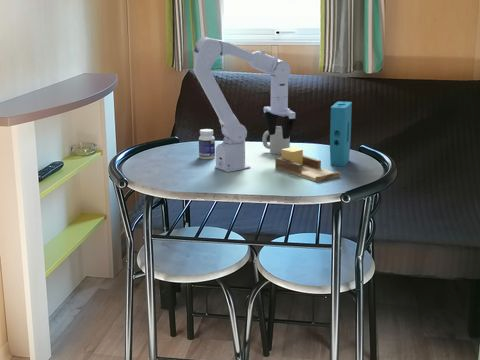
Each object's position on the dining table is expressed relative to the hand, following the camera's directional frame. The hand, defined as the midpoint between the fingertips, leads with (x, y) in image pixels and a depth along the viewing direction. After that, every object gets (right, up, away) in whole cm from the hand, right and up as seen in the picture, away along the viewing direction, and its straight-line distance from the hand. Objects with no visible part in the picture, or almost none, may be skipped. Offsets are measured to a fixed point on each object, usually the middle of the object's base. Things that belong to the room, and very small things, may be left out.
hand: (278, 136), depth 228 cm
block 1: (+4, -9, -3) cm, 11 cm away
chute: (+8, -12, -8) cm, 17 cm away
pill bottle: (-25, -7, +12) cm, 28 cm away
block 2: (+21, -9, +3) cm, 23 cm away
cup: (0, -5, +18) cm, 18 cm away
